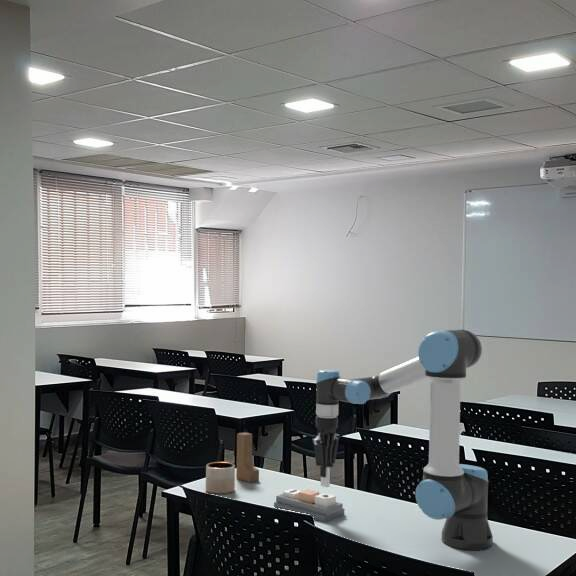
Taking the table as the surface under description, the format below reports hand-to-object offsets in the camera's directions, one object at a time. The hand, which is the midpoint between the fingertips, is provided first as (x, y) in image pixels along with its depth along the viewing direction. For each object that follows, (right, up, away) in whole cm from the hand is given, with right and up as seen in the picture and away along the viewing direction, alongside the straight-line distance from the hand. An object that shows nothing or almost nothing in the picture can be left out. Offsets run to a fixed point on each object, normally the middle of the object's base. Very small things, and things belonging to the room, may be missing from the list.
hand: (325, 486), depth 242 cm
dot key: (0, -6, 0) cm, 6 cm away
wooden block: (-29, -10, +44) cm, 53 cm away
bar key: (-11, -7, +9) cm, 16 cm away
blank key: (-5, -6, +4) cm, 9 cm away
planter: (-38, -10, +28) cm, 48 cm away
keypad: (-5, -10, +4) cm, 12 cm away
